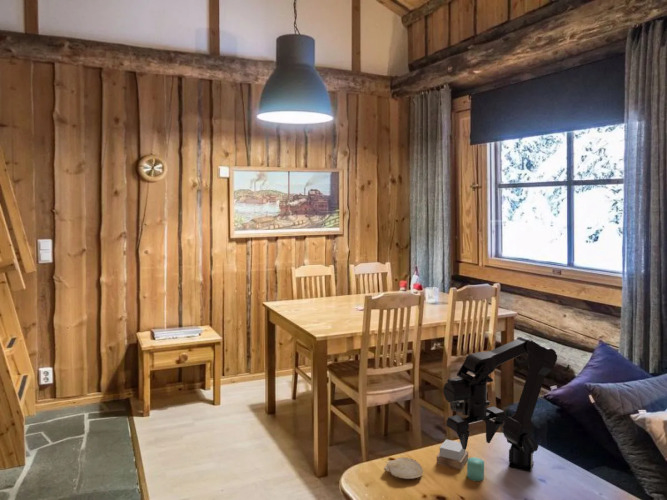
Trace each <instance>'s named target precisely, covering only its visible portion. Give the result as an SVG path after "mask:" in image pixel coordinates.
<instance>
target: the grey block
mask: <svg viewBox="0 0 667 500" xmlns="http://www.w3.org/2000/svg"><path fill="white" fill-rule="evenodd" d="M465 451H466V450H464V449H463V448H462V445H461V442H460V441H456V440H455V441H454V440H451V439H445V440H444V441H443V442H442V443H441V445H440V447H439V453H440V456H441V457H445V458H449V459H453V460H457V461H460V459H461V458H462V457H463V455H464V454H465Z"/></svg>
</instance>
